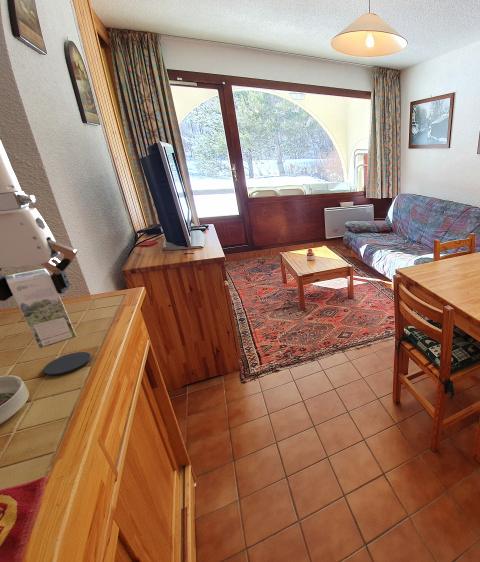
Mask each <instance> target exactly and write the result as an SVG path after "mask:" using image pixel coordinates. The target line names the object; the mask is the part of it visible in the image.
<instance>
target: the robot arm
mask: <svg viewBox="0 0 480 562" xmlns="http://www.w3.org/2000/svg"><path fill="white" fill-rule="evenodd" d="M35 203H36V197H35V196H34V195H33V194H30V195H29V194H26V193H25V192H24V191H23V190H22V188H21V186H20V184H19V181H18V178H17V176H16V174H15V172H14V169H13V166H12V164H11V162H10V159H9V157H8V154H7V152H6V150H5V148H4V146H3V143H2V140H0V302H4V301H7V300H8V299H10V298H12V297H14V296H13V294H12V292H11V290H10V288H9V285H8V283H7V280H6V278H5V276H6V275H2V273H3V270H4V268H5V269H6V268H15V267H26V266H27V267H28V266H36V265H41V266H43V267H44V268H45V269H46V270H47V271H49V272H51V273H52V274H50V275H51V279H52V281H53V283H54V286H55V288H56V290H57V293H59V295H61V294H64V293H66V291H68V290H69V289H70V286H71V283H70V280H69V278H68V275H67V273H66V270H67V269H68V267H69V266H70V265H71V264H72V262H73V260H74V258H75V257H76V255H77V253H78V250H77V249H76V248H73V247H71V246H69V245H66V244H64V243H60V242H58V241H56V239H55V237H54V235H53V233H52V232H51V229H50V228H49V226H48V225H47V222H45V220H44V218H43V216H42V215H41V214H40V212H39V210H37V208H35V207H29V206H30V204H35ZM60 254H62V255H63V257H62V259H61V260H60V259H58V258H57V257H58V256H60Z"/></svg>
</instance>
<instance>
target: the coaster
mask: <svg viewBox="0 0 480 562" xmlns="http://www.w3.org/2000/svg"><path fill="white" fill-rule="evenodd" d="M91 361H92V355H91V353H90V352H87V351H76V352H72V353H67V354H64V355H62V356H60V357H56V358H55V359H53V360H51V361H50V362H48V363H47V364H46V365H44V367H43V369H42V371H43V374H44V375H45V376H48V377H58V376H64V375H67V374H71V373H73V372H76V371H78V370H80V369H82V368H84V367H85V366H87V365H88V364H89V363H90V362H91Z"/></svg>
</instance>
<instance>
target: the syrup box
mask: <svg viewBox="0 0 480 562" xmlns="http://www.w3.org/2000/svg"><path fill="white" fill-rule="evenodd" d="M51 275H52V274H50V272H49V270H48V269H47V268H45V267H44V268H40V269H35V270H29V271H24V272H19V273H13V274H8V275H4V276H5V278H6V280H7V283H8V285H9V288H10V290H11V292H12V294H13V296H12V297H13V298H14V300H15V302H16V304H17V306H18V309H19V310H20V312H21V314H22V316H23V318H24V320H25V322H26V325H27V327H28V328H29V331H30V332H31V335H32V337H33V338H34V341H35V343H36V345H37V346H38V348H39V349H43V348H46V347H50V346H53V345H55V344H59V343H62V342H65V341H68V340H71V339H75V338H76V337H77V333H76V331H75V329H74V327H73V325H72V322H71V320H70V317H69V315H68V312H67V310H66V308H65V305H64V303H63V301H62V299H61V296H60V294H59V293H57V290H56V288H55V286H54V283H53V281H52V279H51Z"/></svg>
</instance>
